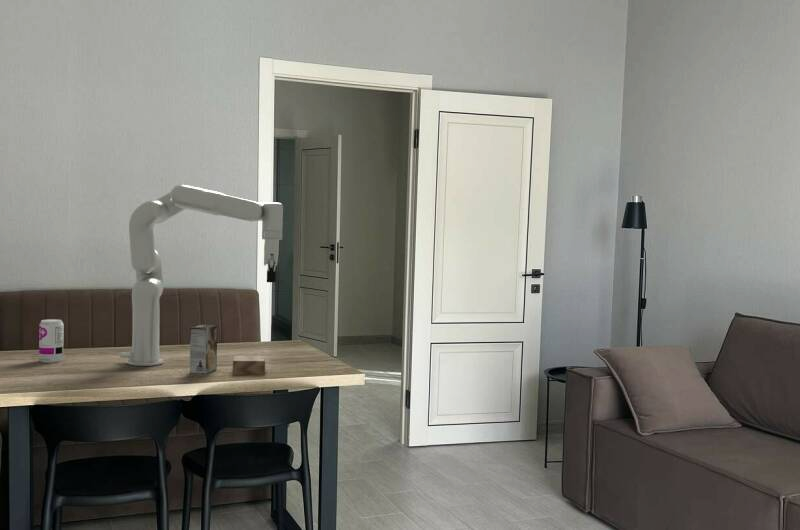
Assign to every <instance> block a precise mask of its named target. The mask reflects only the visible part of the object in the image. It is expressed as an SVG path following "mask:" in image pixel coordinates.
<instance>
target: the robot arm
mask: <svg viewBox="0 0 800 530" xmlns="http://www.w3.org/2000/svg"><path fill="white" fill-rule="evenodd" d="M185 210H189V211H195V212H199V213H203V214H209V215H213V216H222V217H223V216H224V217H228V218H233V219H236V220H237V219H238V220H242V221H247V222H261V240H264V245H263V255H264V256H263V265H264V267H266V265H267V269H266V283H276V281H277V280H276V274H277V273H276V272H277V271H276V267H277V265H278V263H279V245H280V240H281V241H282V240H283V227H284V226H283V225H284V224H283V221H284V220H283V218H284V215H283V214H284V206H283V204H282V203H281V202H258V201H257V202H256V201H254V200H248V199H244V198H240V197H236V196H232V195H227V194H225V193H222V192H218V191H214V190H209V189H204V188H201V187H196V186H192V185H186V184H178V185H175V186H174V187H173V188H172V189H171V190H170V192H168V193H166V194H164V195H163V196H161V197H159V198H157V199H152V200H147V201H145V202H143V203H141V204H140V205H139V206H137V207H136V208H135V209H134V210H133V212H132V213H131V215H130V218H129V223H128V229H129V230H128V231H129V232H128V233H129V234H128V235H129V248H130V250H129V251H130V263H131V268H132V269H133V270H134V271H135V274H136V275H135V276H136V282H134V284H133V287H132V289H131V304H132V305H131V307H132V336H131V337H132V344H131V347H132V348H131V351H128V352H125V351H121V352H120V353H119V358H122V359H125V358H127V359H128V360H127V364H128V365H131V366H136V367H137V366H138V367H140V366H141V367H147V366H148V367H149V366H158V365H162V364H163V363H164V359H163V358H161V357H160V331H161V330H160V324H161V321H160V319H161V318H160V317H161V316H160V315H161V314H160V310H161V309H160V298H161V296H162V295H163V292H164V280H163V279H164V277H163V268H162V260H161V256H160V254H159V252H158V251H157V250H156V248H155V247H156V246H155V235H154V226H155V225H156V224H161V223H165V222H166V221H168V220H169V219H171V218H172V217H173V218H174V216H176V215H178V214H180V213H182V212H183V211H185Z"/></svg>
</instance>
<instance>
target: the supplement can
mask: <svg viewBox="0 0 800 530" xmlns="http://www.w3.org/2000/svg"><path fill="white" fill-rule="evenodd" d="M64 324H65V323H64V322H63V320H62V319H58V318H57V319H54V318H52V319H51V318H50V319H49V318H48V319H42V320H41V321H40V323H39V326H38V328H39V329H38V331H39V332H38V338H39V339H38V360H39V361H40V362H41V363H45V364H46V363H47V364H50V363H51V364H52V363H60V362H62V360H64V341H65V340H64V335H65V333H64V328H65V327H64Z"/></svg>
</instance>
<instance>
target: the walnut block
mask: <svg viewBox="0 0 800 530" xmlns="http://www.w3.org/2000/svg"><path fill="white" fill-rule="evenodd" d="M265 372H266V355H233V360H232V375H265Z"/></svg>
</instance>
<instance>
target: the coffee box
mask: <svg viewBox="0 0 800 530" xmlns="http://www.w3.org/2000/svg"><path fill="white" fill-rule="evenodd" d="M189 340H190V341H189V373H192V374H202V373H205V375H207V374H208V373H211V372H213V371H216V370H217V369H218V366H217V365H218V325H217V324H216V325H215V324H199V325H195V326H192V327H189Z"/></svg>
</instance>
